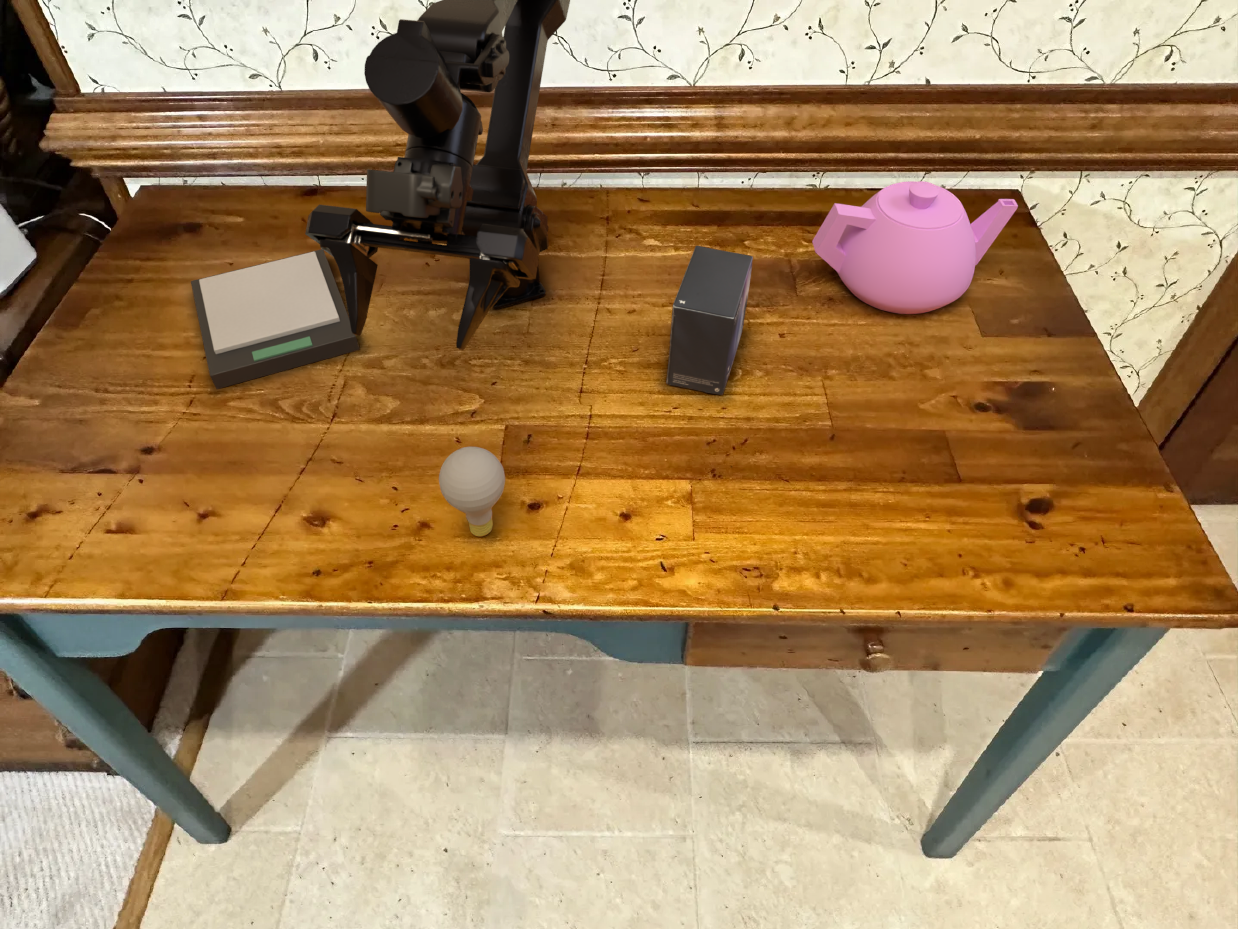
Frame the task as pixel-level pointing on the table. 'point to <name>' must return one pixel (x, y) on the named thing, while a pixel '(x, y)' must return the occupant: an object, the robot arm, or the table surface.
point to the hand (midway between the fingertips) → (407, 341)
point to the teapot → (908, 246)
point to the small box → (708, 319)
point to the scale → (271, 318)
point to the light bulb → (473, 485)
